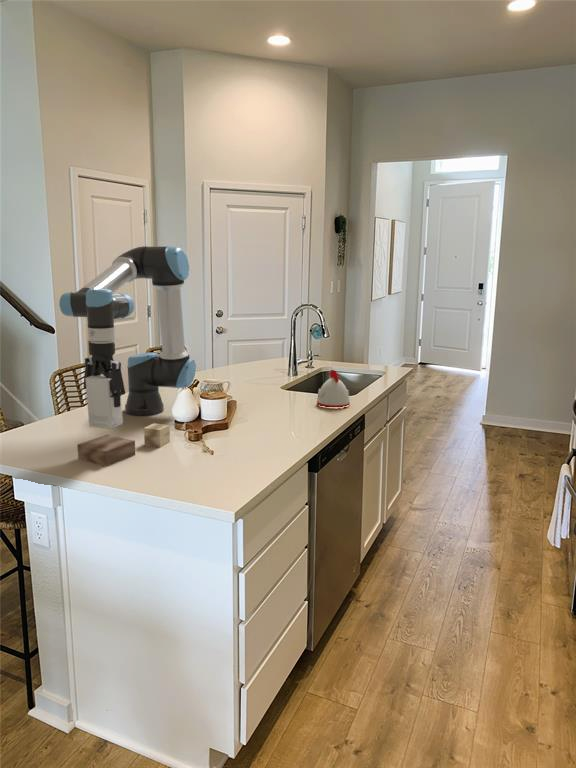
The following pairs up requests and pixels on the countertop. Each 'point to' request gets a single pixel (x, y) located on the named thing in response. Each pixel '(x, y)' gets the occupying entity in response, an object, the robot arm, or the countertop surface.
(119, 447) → the walnut pedestal
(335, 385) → the kitchen timer
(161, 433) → the oak cube
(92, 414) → the skincare box
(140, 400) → the robot arm
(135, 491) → the countertop surface
